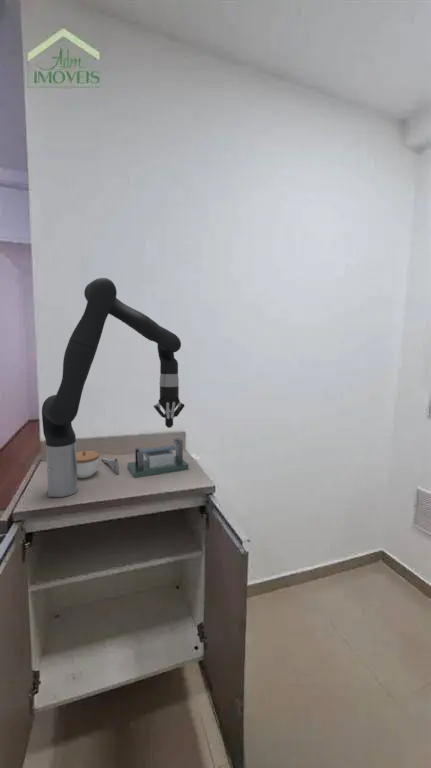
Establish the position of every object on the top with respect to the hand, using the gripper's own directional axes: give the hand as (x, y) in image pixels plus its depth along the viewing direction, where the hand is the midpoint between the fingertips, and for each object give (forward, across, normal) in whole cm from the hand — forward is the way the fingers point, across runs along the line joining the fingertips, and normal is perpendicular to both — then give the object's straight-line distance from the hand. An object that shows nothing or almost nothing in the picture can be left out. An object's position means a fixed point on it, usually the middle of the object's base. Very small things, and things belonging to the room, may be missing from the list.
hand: (169, 427), depth 142 cm
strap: (+9, -5, 0) cm, 11 cm away
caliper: (+17, -22, +10) cm, 30 cm away
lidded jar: (+17, -32, +5) cm, 37 cm away
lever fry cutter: (+17, -5, 0) cm, 18 cm away
